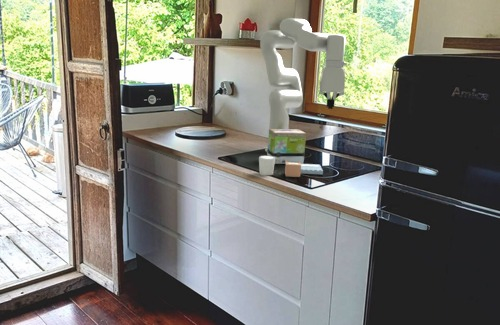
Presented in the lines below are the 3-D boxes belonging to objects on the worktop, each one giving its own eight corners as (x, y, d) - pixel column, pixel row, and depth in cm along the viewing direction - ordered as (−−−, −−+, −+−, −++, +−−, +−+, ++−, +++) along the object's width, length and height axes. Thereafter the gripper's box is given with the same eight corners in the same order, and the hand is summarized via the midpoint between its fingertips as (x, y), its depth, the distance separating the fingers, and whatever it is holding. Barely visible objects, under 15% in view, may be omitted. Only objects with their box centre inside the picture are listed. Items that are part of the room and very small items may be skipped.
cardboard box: (285, 172, 195) (285, 161, 193) (299, 173, 195) (300, 162, 193) (285, 176, 190) (286, 164, 189) (300, 176, 190) (301, 164, 188)
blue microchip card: (288, 166, 206) (288, 162, 205) (319, 167, 206) (319, 164, 205) (289, 172, 195) (289, 169, 195) (322, 174, 195) (323, 170, 195)
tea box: (273, 164, 207) (275, 132, 204) (266, 159, 217) (268, 128, 213) (304, 164, 211) (306, 132, 208) (296, 158, 221) (298, 128, 217)
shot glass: (264, 176, 188) (265, 159, 186) (254, 172, 194) (255, 156, 192) (277, 174, 192) (278, 158, 190) (267, 170, 198) (268, 154, 196)
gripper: (350, 65, 195) (346, 108, 200) (315, 63, 196) (311, 106, 200) (353, 66, 188) (349, 110, 193) (317, 64, 188) (313, 108, 193)
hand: (330, 108), depth 196 cm, fingers closed
